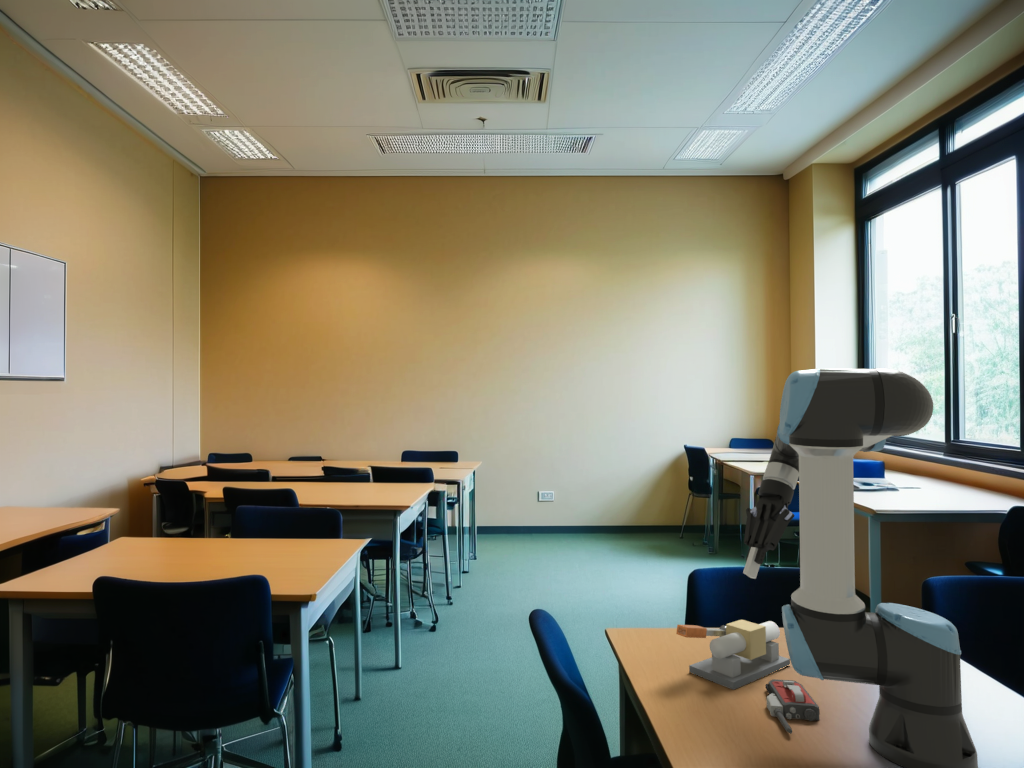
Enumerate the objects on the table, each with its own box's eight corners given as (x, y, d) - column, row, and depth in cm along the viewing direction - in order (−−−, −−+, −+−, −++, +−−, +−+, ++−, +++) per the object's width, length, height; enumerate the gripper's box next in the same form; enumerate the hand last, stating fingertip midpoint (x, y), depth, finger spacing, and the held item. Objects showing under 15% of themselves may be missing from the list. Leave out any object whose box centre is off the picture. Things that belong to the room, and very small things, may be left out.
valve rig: (746, 651, 148) (745, 609, 149) (790, 665, 139) (789, 621, 140) (689, 672, 135) (688, 626, 136) (733, 689, 126) (732, 640, 127)
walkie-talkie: (755, 691, 127) (783, 739, 107) (754, 669, 127) (783, 713, 108) (799, 694, 126) (836, 743, 106) (799, 672, 126) (836, 717, 106)
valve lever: (724, 624, 143) (677, 622, 133) (734, 627, 141) (687, 625, 131) (723, 637, 142) (676, 636, 133) (733, 640, 140) (685, 639, 130)
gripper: (811, 492, 144) (783, 586, 136) (767, 492, 156) (739, 579, 148) (789, 476, 142) (759, 571, 134) (747, 478, 154) (717, 565, 146)
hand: (749, 575), depth 141 cm, fingers closed
